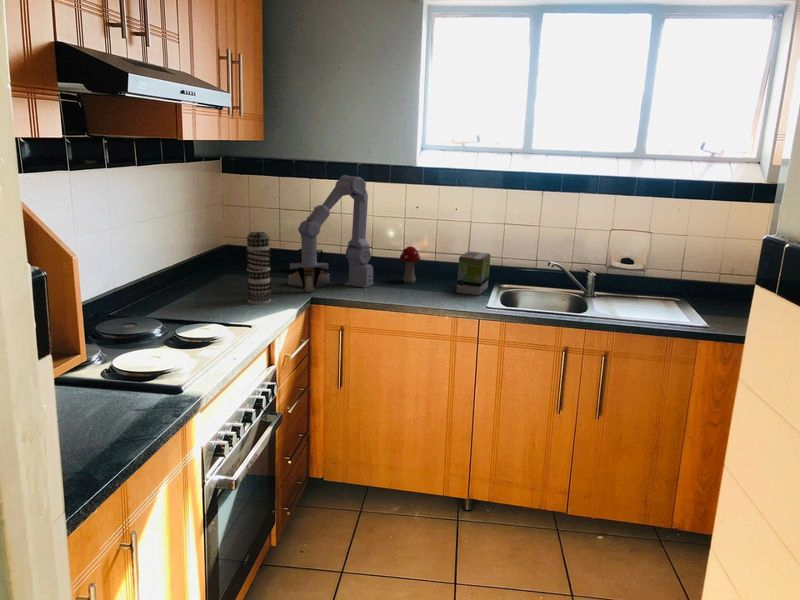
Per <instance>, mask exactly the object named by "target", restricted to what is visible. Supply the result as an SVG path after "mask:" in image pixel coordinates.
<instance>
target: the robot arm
mask: <svg viewBox="0 0 800 600" xmlns="http://www.w3.org/2000/svg"><path fill="white" fill-rule="evenodd" d="M366 187H367V183H366V181H365V180H364V179H363V178H362V177H360V176H354V175H353V176H351V175H347V174H343V175H342V176H339V179H338V180H337V181H336V182H335V185H334V188H332V190H331V192H330V193H329V194H328V196H327V197H326V199H325V201H324V202H323V203H322V204H319V205H317V206H314V208H313V210H312V212H311V213H310V215H309V216H307V217H306V220H303V221H301V222H300V224H299V227H298V228H297V230H298V233H299V234H300V240H301V242H300V243H301V249H302V263H298V262H294V263H293V262H291V263H289V270H297V271H298V273H299V275H300V277H301V280H302V284H303V287H302V288H303V289H305V282H304V269H314V288H315V289H317V288H316V283H317V280H318V277H319V275H320V273H321V271H322V270H323V269H326V270H329V263H328V262H327V263H326V262H319V263H317V261H318V260H317V259H318V258H317V256H318V254H317V253H318V252H317V250H318V249H317V243H318V242H317V239H318V237H317V236H319V234H320V232H321V228H322V226H323V224H324V223H325V222H326V221H327V219H328V218H329V216H330V214H331V213H330V211H331V209H332V208H333V207H334V206H336V204H337V203H339V200H341V199H342V197H344V196H349V197H351V199H353V211H352V232H351V239H350V241H348V242H347V248H346V250H345V257H346V259H347V260H348V264H349V265H348V282H345V283H344V285H345V286H350V287H360V288H364V289H365V288H368V287H371V286H372V285H374V268H373V265H372V264H369V262H370V260H371V257H372V253H371V251H370V250H371V249H370V244H369V243H368V241H367V240H366V236H367V221H368V220H367V219H368V206H369V205H368V202H369V201H368V200H369V194H368V191H367V189H366Z"/></svg>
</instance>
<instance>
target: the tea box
mask: <svg viewBox="0 0 800 600" xmlns="http://www.w3.org/2000/svg"><path fill="white" fill-rule="evenodd" d="M490 263H491V253H489V252H477V251H469V250H468V251H466V252H464V253H463V254H461V255H460V256H459V258H458V269H457V279H456V280H457V283H456V293H459V294H464V295H472V296H473V295H474V296H480V295H481V294H483V293H484V291H486V290H487V288H488V287H489V280H490V278H489V277H490V268H491V267H490V266H491V264H490Z"/></svg>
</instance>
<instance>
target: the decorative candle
mask: <svg viewBox="0 0 800 600" xmlns="http://www.w3.org/2000/svg"><path fill="white" fill-rule="evenodd" d="M245 238H246V239H247V242H246V243H247V245H246V248H245V250H244V252H245V253H246V254H245V258H246V259H245V263H246V271H247V274H248V275H247V276H248V277H247V282H246V285H247V287H246V288H247V292H246V294H247V303H249V304H252V305H253V304H254V305H264V304H269V303H271V302H272V295H271V294H272V291H271V289H272V287H271V284H272V282H271V278H270V271H271V266H272V264H271V263H272V262H271V261H272V260H271V259H270V258H271V257H272V254H271V252H272V250H271V249H270V244H269V243H270V240H269V238H270V236H268V234H267V233H266V232H262V231H251V232H249V234H248V235H247V236H246V237H245Z"/></svg>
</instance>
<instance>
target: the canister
mask: <svg viewBox="0 0 800 600" xmlns="http://www.w3.org/2000/svg"><path fill="white" fill-rule="evenodd" d="M304 275H305V288H304V291H305V292H309V293H311V292H312V293H313V292H315V289H314V275H312V274H311V273H307V274H304Z"/></svg>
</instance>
